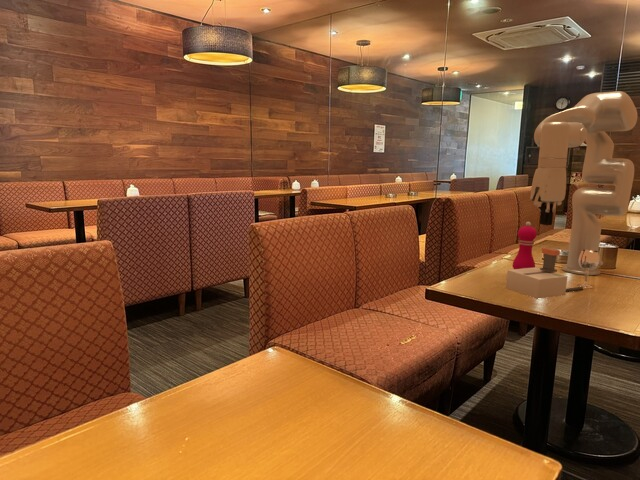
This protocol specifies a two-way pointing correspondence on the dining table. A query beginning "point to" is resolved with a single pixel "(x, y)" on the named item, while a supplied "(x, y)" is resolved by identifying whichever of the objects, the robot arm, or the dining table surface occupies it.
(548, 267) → the breaker handle
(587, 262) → the wineglass
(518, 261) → the pepper mill
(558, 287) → the box
